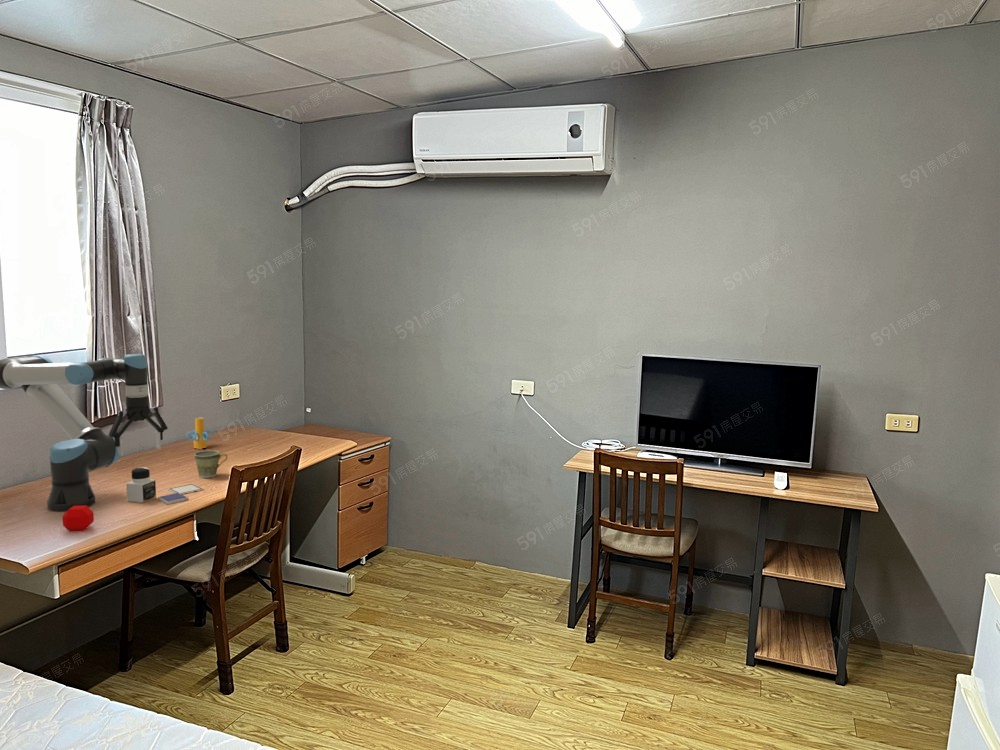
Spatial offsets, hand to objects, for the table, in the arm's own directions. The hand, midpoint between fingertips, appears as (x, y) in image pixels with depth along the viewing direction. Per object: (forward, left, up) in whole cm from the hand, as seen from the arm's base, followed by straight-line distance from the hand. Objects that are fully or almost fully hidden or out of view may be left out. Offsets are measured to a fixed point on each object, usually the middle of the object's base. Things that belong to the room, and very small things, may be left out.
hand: (139, 451), depth 267 cm
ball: (-28, -18, -19) cm, 38 cm away
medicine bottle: (0, 0, -19) cm, 19 cm away
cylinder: (+52, +63, -19) cm, 84 cm away
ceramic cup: (+33, +13, -19) cm, 40 cm away
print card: (+17, 0, -18) cm, 25 cm away
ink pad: (+8, -8, -18) cm, 22 cm away
